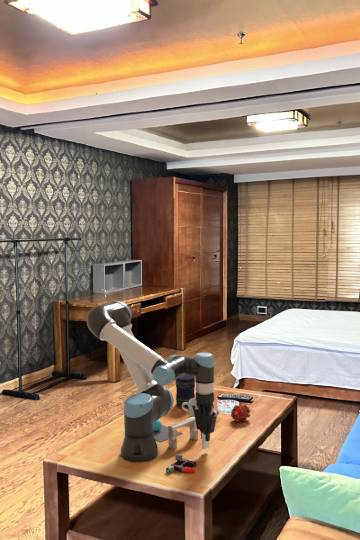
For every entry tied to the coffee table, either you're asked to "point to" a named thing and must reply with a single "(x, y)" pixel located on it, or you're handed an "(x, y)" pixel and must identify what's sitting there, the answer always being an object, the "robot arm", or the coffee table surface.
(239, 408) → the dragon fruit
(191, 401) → the teacup
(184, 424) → the bridge
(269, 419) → the coffee table surface
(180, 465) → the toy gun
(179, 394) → the storage jar
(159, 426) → the ball
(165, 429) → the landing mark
